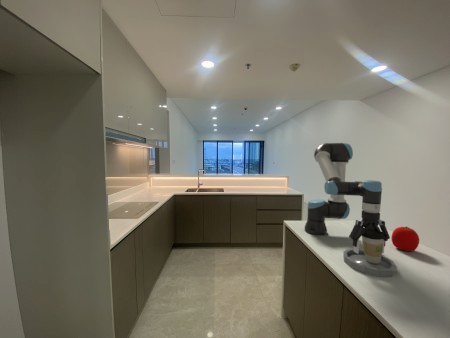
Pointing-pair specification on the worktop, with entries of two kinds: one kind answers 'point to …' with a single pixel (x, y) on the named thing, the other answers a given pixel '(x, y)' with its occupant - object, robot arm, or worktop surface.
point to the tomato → (405, 238)
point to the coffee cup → (373, 245)
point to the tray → (369, 264)
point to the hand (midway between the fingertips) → (368, 252)
